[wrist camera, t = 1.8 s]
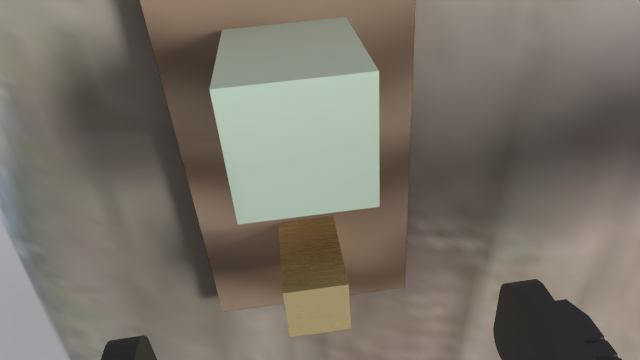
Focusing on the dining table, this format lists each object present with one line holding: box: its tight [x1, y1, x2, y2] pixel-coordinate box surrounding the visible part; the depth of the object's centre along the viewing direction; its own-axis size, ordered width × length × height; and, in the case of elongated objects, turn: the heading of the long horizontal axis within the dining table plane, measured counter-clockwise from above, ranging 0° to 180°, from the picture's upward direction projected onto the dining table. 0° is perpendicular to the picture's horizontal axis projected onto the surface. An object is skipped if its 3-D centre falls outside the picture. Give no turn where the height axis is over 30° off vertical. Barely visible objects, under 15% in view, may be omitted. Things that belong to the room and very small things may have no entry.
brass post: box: [278, 216, 351, 337], centre depth 26 cm, size 3×3×6 cm
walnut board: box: [140, 0, 416, 312], centre depth 26 cm, size 20×12×2 cm, turn 4°
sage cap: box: [209, 17, 380, 224], centre depth 20 cm, size 6×6×7 cm
